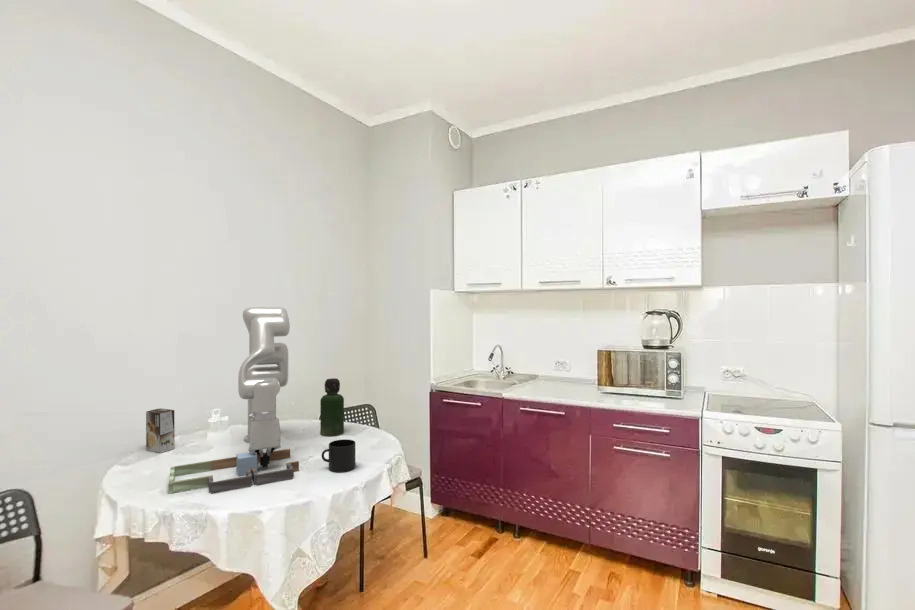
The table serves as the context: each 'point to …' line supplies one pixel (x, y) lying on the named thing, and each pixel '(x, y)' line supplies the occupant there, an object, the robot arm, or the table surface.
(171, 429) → the coffee box
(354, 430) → the table surface
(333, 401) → the green bottle
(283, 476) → the trap box
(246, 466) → the block
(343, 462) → the mug
